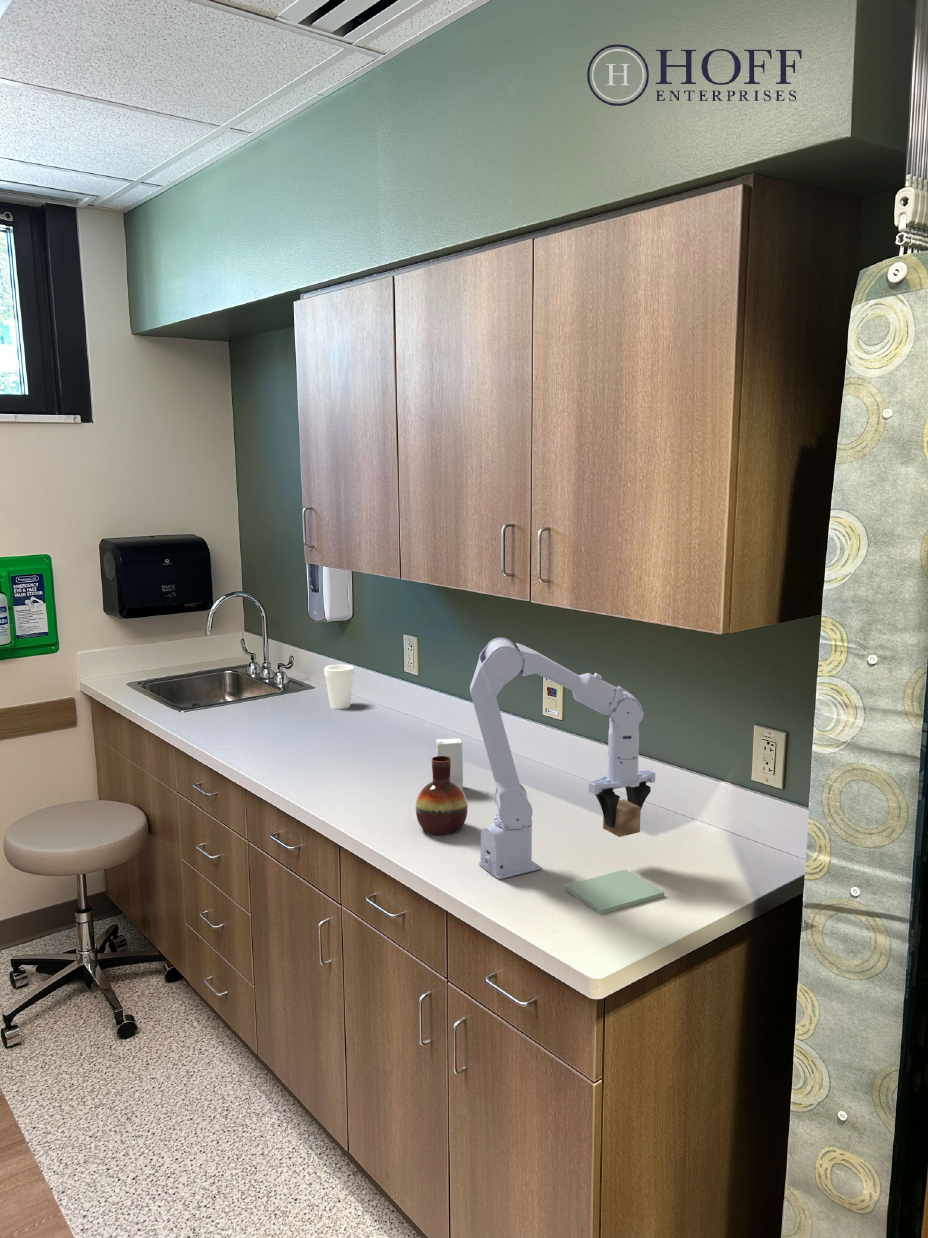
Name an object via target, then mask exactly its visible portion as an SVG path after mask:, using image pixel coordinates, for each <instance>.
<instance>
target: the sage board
mask: <svg viewBox="0 0 928 1238" xmlns="http://www.w3.org/2000/svg"><path fill="white" fill-rule="evenodd" d="M563 889H564V890H565V892H568V893H569V894H571V895H572V896H574V897H576V898H577V900H579V901H581V902H582V903H584V904H585V905H587V906H588V907H590V908H591V909H593V910H594V911H596V912H597V913H599V914H600V915H604V914H606V913H607V914H608V913H611V912H614V911H616V910H617V911H618V910H621V909H625V908H627V907H632V906H635V905H639V904H641V903H645V902H649V901H652V900H656V899H659V898H663V897H665V891H664V890H661V889H660V888H658V887H657V886H655V885H653V884H652V883H650V882H648V881H646V880H645V879H643V878H641V877H639V876H638V875H636V874H634V873H633V872H631V871H630V870H628V869H626V868H625V869H622V870H618V871H614V872H611V873H610V872H609V873H607V874H603V875H599V876H594V877H592V878H587V879H583V880H579V881H575V882H572V883H568V884H564V887H563Z"/></svg>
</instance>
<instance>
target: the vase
mask: <svg viewBox="0 0 928 1238" xmlns="http://www.w3.org/2000/svg"><path fill="white" fill-rule="evenodd" d="M450 768H451V758H450V757H447V756H437V755H436V756H434V757H432V758H431V770H432V781H431V782H429V783H427V784H426V785H425V786H424V787H423V788H422V789H421V790H420V791H419V793H418V795H417V798H416V801H415V814H416V819H417V821H418V824H419V826H420V827H421V829H422V830H424V831H425V832H426V833H428V834H431V835H436V836H437V835H438V836H447V835H451V834H455V833H457V832H459V830H461V829H462V828H463V826H464V824H465V823H466V819H467V816H468V809H469V808H468V807H469V805H468V799H467V796H466V795H465V792H464V790H463V791H462V790H461V788H460V787H459V786H457V785H456V784H455V783H453V782H451V781H450Z"/></svg>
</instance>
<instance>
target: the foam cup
mask: <svg viewBox="0 0 928 1238" xmlns="http://www.w3.org/2000/svg"><path fill="white" fill-rule="evenodd" d="M323 670H324V672H323V673H324V675H323V676H325V682H326V688H327V695H328V702H329V706H330V709H334V710H343V709H348V708H350V706H351V701H352V700H351V699H352V692H353V691H352V690H353V681H354V675H355V667H354V665H350V664H332V665H326V666H325V667H324V668H323Z"/></svg>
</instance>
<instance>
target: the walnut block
mask: <svg viewBox="0 0 928 1238" xmlns="http://www.w3.org/2000/svg"><path fill="white" fill-rule="evenodd" d="M641 811H642V809H641V807H639V806H637V805H635V804H633V803H631V802H629V801H627V799H619V801H618V805H617V809H616V822H615V827H613V828H611V827H609V826H607V825H605V820H604V815H603V814H602V815H603V817H602V827H603V828H602V829H603V830H606V831H607V832H609V833H611V834H612V835H614V836H615V837H618V838H621V837H625V836H630V835H634V834H638V833H641Z"/></svg>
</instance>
